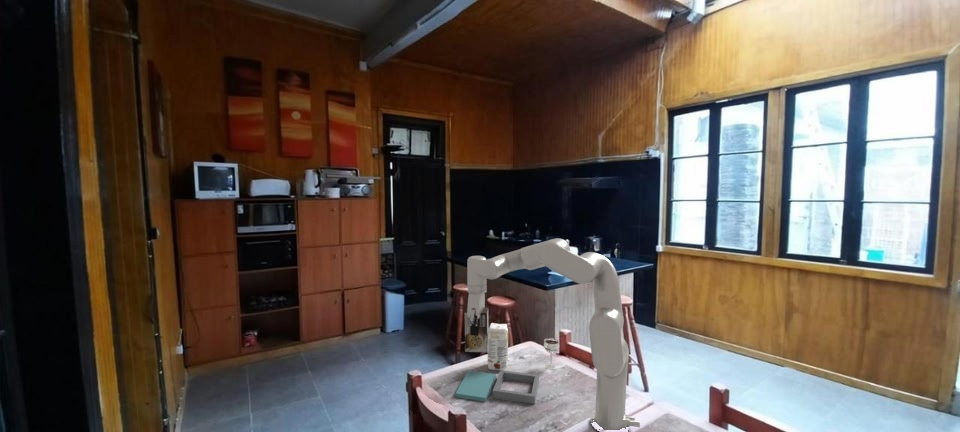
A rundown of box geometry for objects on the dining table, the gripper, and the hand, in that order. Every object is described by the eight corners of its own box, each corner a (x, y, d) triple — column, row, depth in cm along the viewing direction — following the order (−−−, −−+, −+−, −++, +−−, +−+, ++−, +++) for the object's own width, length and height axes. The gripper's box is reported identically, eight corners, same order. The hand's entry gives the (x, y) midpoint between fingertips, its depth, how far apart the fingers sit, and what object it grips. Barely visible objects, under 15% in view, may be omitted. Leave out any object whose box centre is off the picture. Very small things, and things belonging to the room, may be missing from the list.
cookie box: (488, 345, 155) (489, 307, 154) (487, 352, 149) (487, 312, 147) (466, 344, 156) (466, 306, 155) (464, 351, 150) (464, 311, 148)
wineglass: (560, 371, 167) (560, 344, 166) (544, 370, 167) (545, 344, 166) (557, 363, 174) (557, 338, 173) (542, 363, 174) (542, 337, 173)
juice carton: (506, 372, 166) (506, 330, 164) (486, 370, 168) (486, 328, 166) (508, 364, 173) (508, 323, 171) (489, 362, 175) (489, 321, 173)
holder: (538, 382, 158) (539, 375, 158) (534, 404, 143) (534, 396, 142) (500, 376, 162) (500, 370, 162) (492, 397, 146) (492, 390, 146)
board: (495, 377, 161) (495, 374, 161) (485, 401, 144) (485, 397, 144) (468, 373, 164) (468, 370, 164) (455, 397, 147) (455, 393, 147)
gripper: (473, 281, 159) (473, 322, 161) (461, 293, 143) (461, 339, 144) (491, 282, 158) (490, 324, 159) (480, 294, 141) (480, 341, 143)
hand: (476, 331), depth 152 cm, fingers closed on cookie box, 7 cm apart
